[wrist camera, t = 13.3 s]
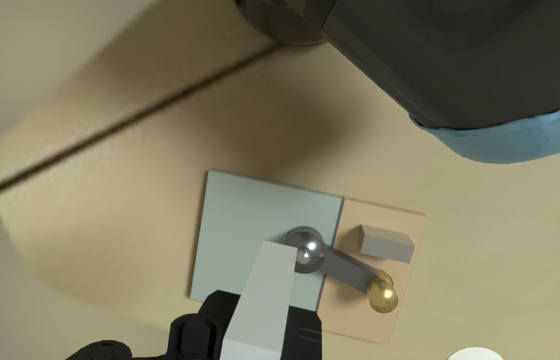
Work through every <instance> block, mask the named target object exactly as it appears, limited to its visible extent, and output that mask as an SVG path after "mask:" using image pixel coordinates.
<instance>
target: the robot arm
mask: <svg viewBox="0 0 560 360" xmlns="http://www.w3.org/2000/svg"><path fill="white" fill-rule="evenodd" d="M233 2H234V4H235V6H236V7H237V9H238V10H239V12H240V13H241V14H242V16H243V17H244V18H245V19H246V20H247V21H248V22H249V24H250V25H251V26H252V27H254V28H255V29H256V30H257V31H258V32H260V33H261V34H262V35H264V36H266V37H267V38H269V39H271V40H273V41H276V42H279V43H282V44H286V45H291V46H311V45H316V44H320V43H324V42H327V41H328V42H330V43H331V44H332V45H333V46H334V47H335V48H336V49H337V50H339V51H340V52H341V53H342V54H343V55H344V56H345V57H346V58H348V59H349V60H350V61H351V62H352V63H353V64H354V65H355V66H356V67H358V68H359V69H360V70H361V71H362V72H363V73H364V74H365V75H367V76H368V77H369V78H370V79H371V80H372V81H373V82H374V83H376V84H377V85H378V86H379V87H380V88H381V89H382V90H383V91H385V92H386V93H387V94H388V95H389V96H390V97H391V98H392V99H393V100H395V101H396V102H397V103H398V104H399V105H400V106H401V107H402V108H404V109H405V110H406V111H407V112H408V113H409V117H410V119H411V120H412V121H413V123H414V124H415V125H416V126H418V127H419V128H421V129H423V130H425V131H427V132H428V133H431V134H433V135H434V136H435V137H437V138H438V139H439V140H440V141H442V142H443V143H444V144H445V145H447V146H448V147H449V148H450V149H451V150H453V151H454V152H455V153H457V154H459V155H461V156H462V157H466V158H469V159H471V160H474V161H477V162H482V163H492V164H509V163H518V162H525V161H530V160H535V159H539V158H543V157H547V156H550V155H554V154H557V153H560V0H233ZM297 249H298V248H296V247H291V246H287V245H282V244H278V243H273V242H269V241H263V243H262V246H261V248H260V251H259V253H258V255H257V258H256V260H255V263H254V265H253V268H252V270H251V273H250V275H249V277H248V280H247V282H246V285H245V287H244V290H243V292H242V295H239V294H235V293H231V292H226V291H222V290H216V291H214V292H213V293H211V294H210V295H208V296H207V298H206V299H205V301H204V303H203V305H202V307H201V308H200V310H199V311H198V314H197V313H193V314H185V315H183V316H180V317H178V318H176V319H175V320H174V321H173V322H172V323H171V327H170V334H169V342H168V349H167V352H166V354H164V355H161V356H157V357H136V358H132V353H131V350H130V348H129V347H128V346H127V345H125V344H124V343H122V342H118V341H115V340H103V341H98V342H94V343H91V344H89V345H87V346H85V347H83V348H81V349H80V350H79V351H77V352H76V353H74V354H73V355H71V356H70V357H69V358H67V359H66V360H322V321H321V320H320V318H319V316H318V315H317V313H316V311H312V310H307V309H303V308H299V307H295V306H290V305H289V301H290V294H291V288H292V281H293V275H294V268H295V262H296V255H297Z"/></svg>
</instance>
